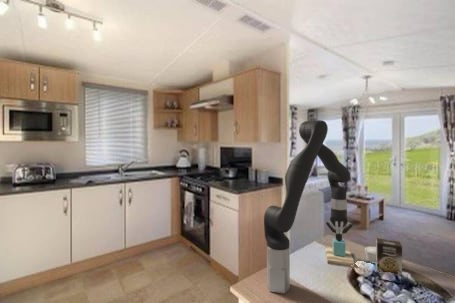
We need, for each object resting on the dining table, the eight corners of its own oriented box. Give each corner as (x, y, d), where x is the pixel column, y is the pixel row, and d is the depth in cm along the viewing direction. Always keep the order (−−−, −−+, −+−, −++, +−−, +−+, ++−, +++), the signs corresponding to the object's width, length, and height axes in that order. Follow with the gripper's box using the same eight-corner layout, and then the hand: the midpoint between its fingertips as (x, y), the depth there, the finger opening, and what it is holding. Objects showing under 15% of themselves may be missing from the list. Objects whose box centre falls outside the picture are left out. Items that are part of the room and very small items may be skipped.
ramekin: (359, 258, 122) (359, 248, 122) (373, 254, 126) (373, 244, 126) (382, 269, 112) (382, 258, 111) (396, 263, 116) (396, 253, 116)
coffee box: (376, 279, 103) (376, 242, 103) (375, 272, 109) (375, 237, 108) (402, 284, 99) (402, 246, 98) (399, 277, 105) (399, 240, 104)
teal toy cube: (345, 256, 119) (345, 243, 119) (333, 254, 121) (333, 242, 121) (343, 251, 124) (343, 239, 124) (332, 250, 126) (332, 238, 126)
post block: (354, 267, 113) (354, 249, 113) (327, 263, 117) (327, 246, 117) (349, 252, 128) (349, 237, 128) (325, 249, 132) (325, 234, 132)
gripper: (325, 208, 121) (325, 242, 121) (354, 210, 116) (354, 245, 117) (324, 204, 128) (324, 236, 128) (351, 206, 124) (351, 239, 124)
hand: (338, 240), depth 123 cm, fingers closed
